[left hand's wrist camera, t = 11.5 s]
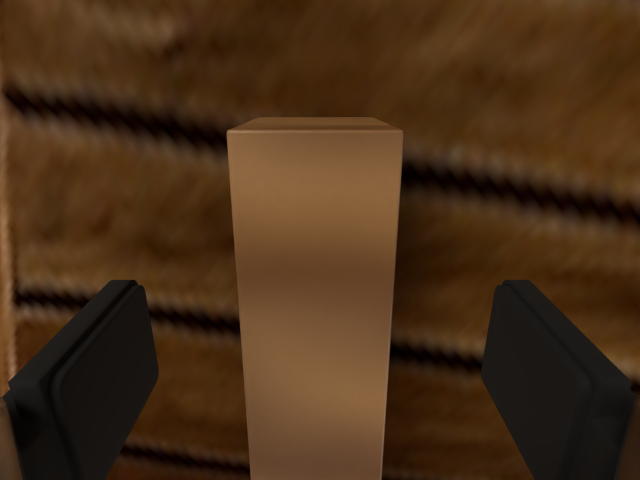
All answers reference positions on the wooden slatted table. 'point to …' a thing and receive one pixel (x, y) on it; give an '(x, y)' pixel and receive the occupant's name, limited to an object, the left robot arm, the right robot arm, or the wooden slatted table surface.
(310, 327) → the bar
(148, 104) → the wooden slatted table surface
